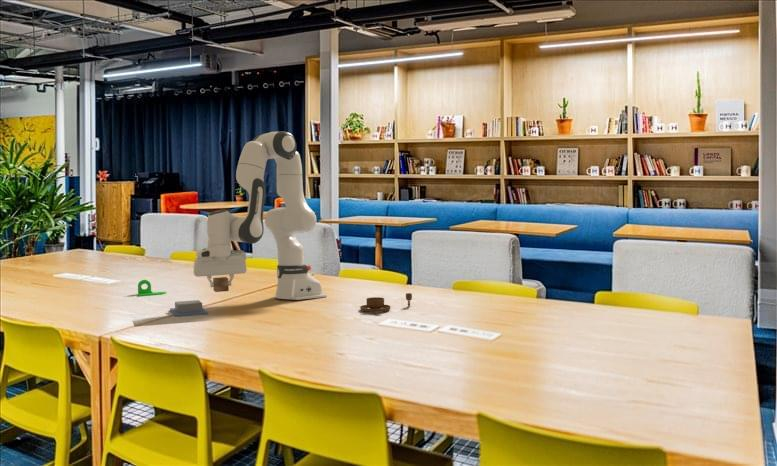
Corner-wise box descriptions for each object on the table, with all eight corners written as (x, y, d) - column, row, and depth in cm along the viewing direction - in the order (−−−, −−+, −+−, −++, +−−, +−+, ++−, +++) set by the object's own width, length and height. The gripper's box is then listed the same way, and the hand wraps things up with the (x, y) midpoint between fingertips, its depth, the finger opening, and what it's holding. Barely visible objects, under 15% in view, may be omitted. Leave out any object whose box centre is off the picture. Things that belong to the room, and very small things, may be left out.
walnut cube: (226, 289, 266) (225, 277, 265) (228, 291, 261) (228, 278, 261) (213, 290, 263) (213, 277, 263) (215, 292, 259) (215, 279, 259)
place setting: (363, 307, 270) (363, 292, 270) (412, 307, 268) (412, 293, 268) (356, 314, 253) (356, 298, 253) (409, 314, 251) (409, 299, 251)
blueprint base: (201, 308, 267) (201, 298, 267) (207, 314, 252) (207, 304, 252) (170, 310, 262) (169, 300, 262) (174, 316, 247) (174, 306, 247)
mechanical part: (138, 299, 295) (138, 281, 295) (138, 297, 301) (137, 280, 301) (167, 297, 300) (166, 280, 300) (166, 296, 306) (165, 278, 305)
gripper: (244, 249, 268) (245, 283, 269) (192, 252, 260) (193, 287, 261) (247, 250, 263) (248, 285, 263) (194, 253, 254) (195, 289, 255)
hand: (220, 286), depth 262 cm, fingers closed on walnut cube, 5 cm apart
